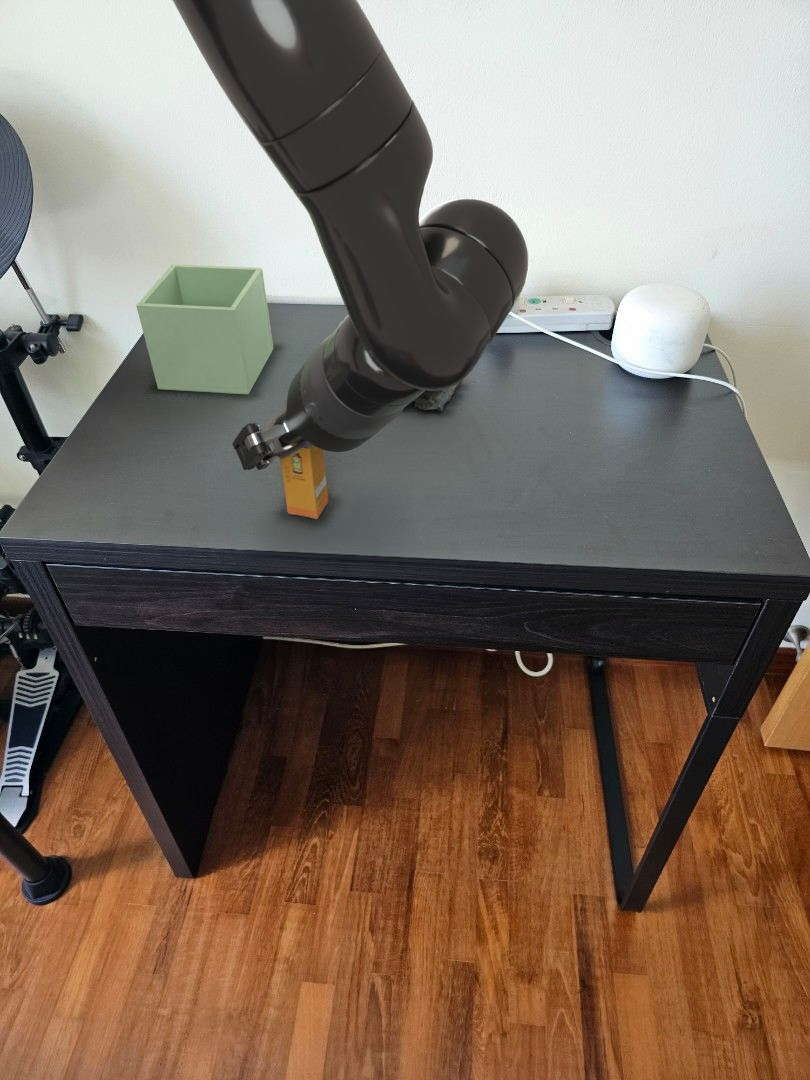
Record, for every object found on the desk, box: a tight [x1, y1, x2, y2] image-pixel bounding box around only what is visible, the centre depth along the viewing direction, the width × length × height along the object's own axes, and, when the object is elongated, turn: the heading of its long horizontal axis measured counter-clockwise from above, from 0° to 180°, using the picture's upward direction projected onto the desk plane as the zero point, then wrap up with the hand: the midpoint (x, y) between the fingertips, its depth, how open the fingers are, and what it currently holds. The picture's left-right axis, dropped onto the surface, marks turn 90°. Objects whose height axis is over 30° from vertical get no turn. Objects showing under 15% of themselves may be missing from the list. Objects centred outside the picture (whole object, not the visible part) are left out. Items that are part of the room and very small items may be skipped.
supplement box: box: [279, 443, 329, 520], centre depth 74 cm, size 3×3×10 cm
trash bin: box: [135, 263, 275, 395], centre depth 94 cm, size 11×11×11 cm
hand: (294, 444), depth 74 cm, fingers open, 7 cm apart
